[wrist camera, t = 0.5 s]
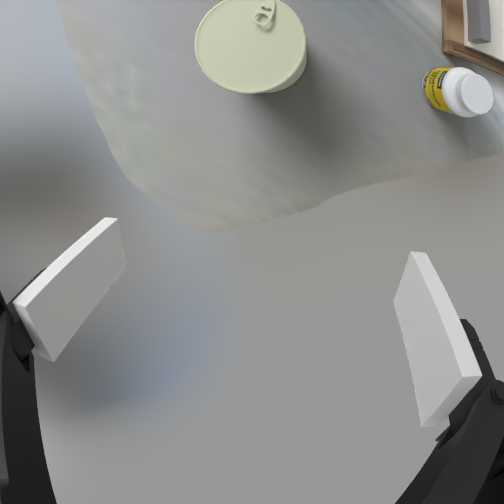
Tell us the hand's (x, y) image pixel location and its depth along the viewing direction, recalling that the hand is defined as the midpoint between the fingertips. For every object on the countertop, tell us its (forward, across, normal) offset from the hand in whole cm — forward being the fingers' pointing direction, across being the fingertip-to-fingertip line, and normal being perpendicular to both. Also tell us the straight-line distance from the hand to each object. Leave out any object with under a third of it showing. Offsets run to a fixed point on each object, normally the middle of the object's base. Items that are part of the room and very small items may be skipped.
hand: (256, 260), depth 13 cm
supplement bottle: (+26, +18, +10) cm, 33 cm away
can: (+26, -3, +11) cm, 28 cm away
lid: (+24, +25, +21) cm, 40 cm away
